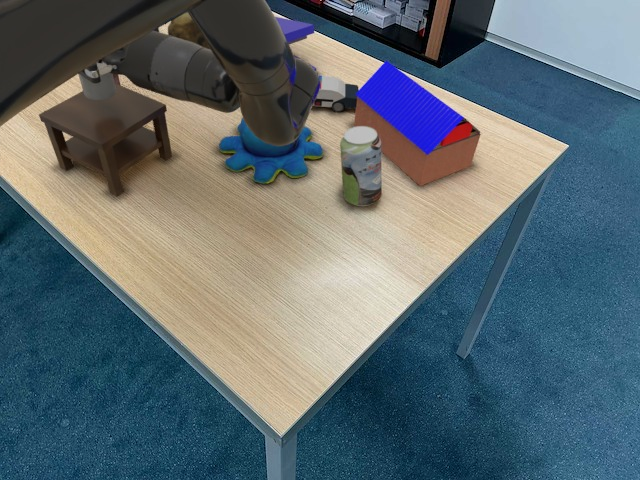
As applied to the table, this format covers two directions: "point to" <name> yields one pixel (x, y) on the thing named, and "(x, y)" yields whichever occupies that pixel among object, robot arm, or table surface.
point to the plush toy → (269, 154)
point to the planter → (99, 87)
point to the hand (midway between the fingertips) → (71, 36)
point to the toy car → (336, 94)
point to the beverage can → (361, 166)
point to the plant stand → (107, 133)
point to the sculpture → (186, 30)
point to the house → (415, 126)
